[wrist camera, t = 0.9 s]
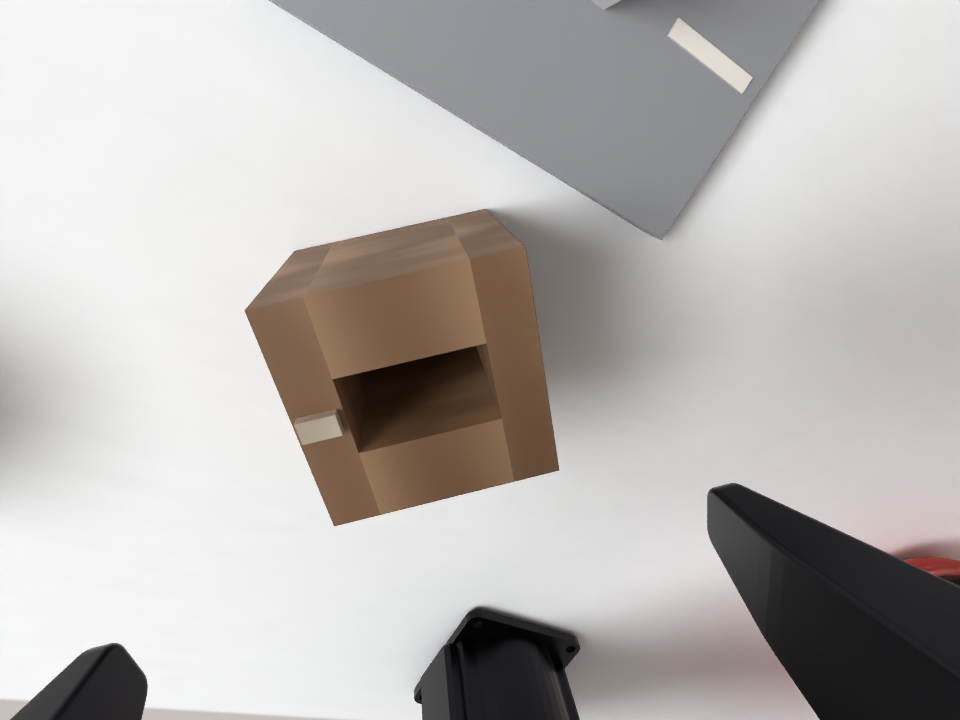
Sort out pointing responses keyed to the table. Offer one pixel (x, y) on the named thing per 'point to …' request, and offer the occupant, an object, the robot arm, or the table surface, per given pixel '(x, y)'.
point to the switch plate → (582, 80)
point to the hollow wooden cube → (409, 364)
